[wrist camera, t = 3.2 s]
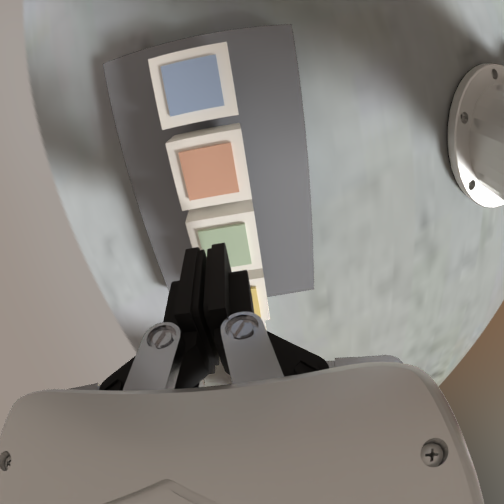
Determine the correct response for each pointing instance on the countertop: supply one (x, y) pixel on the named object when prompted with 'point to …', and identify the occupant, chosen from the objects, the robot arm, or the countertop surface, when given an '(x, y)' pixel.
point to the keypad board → (255, 145)
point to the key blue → (193, 85)
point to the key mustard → (259, 293)
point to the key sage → (227, 232)
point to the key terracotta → (209, 166)
